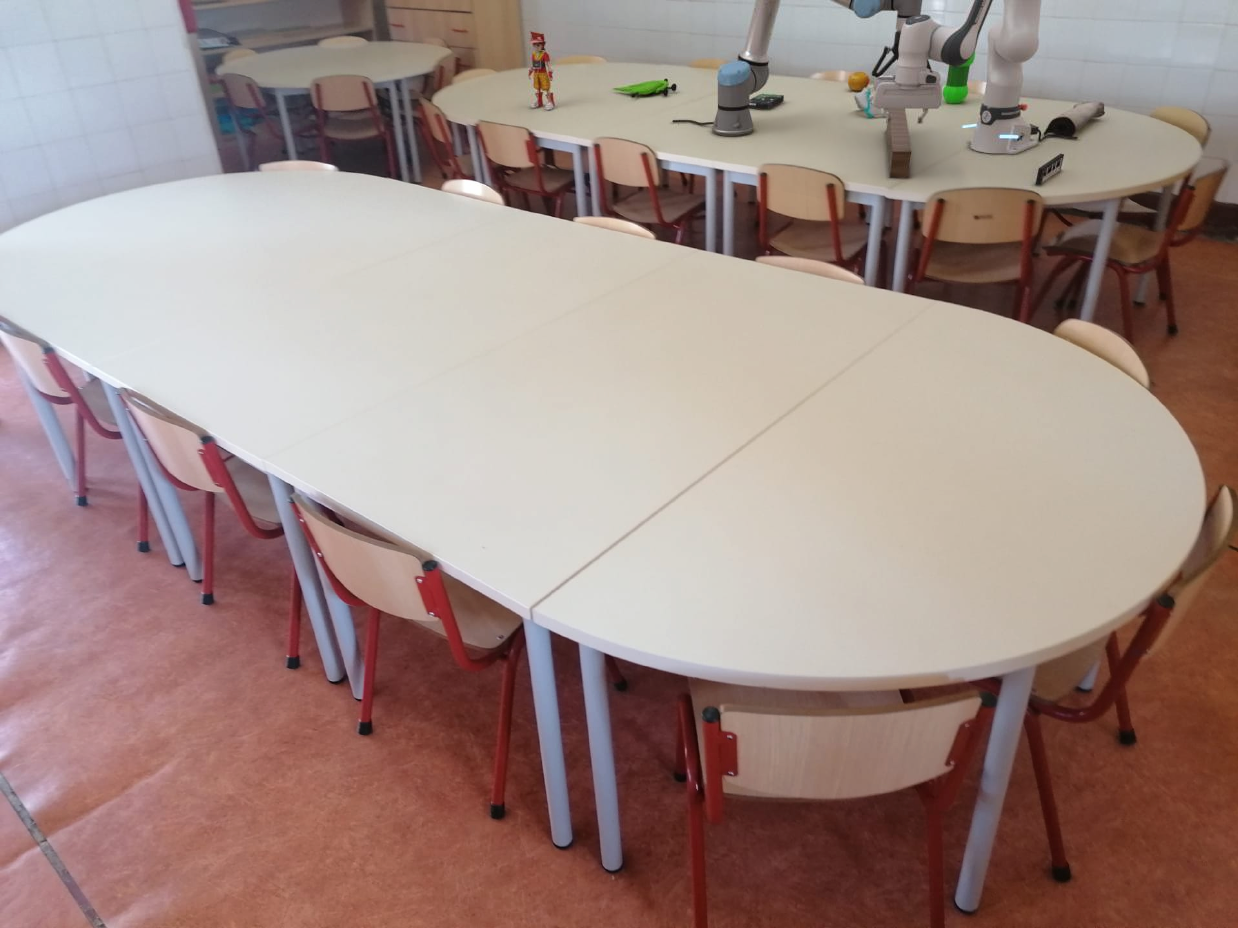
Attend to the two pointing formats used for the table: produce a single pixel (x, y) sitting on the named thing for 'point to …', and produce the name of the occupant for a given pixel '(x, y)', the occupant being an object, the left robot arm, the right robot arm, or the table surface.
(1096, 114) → the rolled mat
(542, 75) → the toy
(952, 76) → the plastic bottle
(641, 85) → the toy
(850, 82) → the fruit
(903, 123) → the post
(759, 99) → the disk drive
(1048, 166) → the midi keyboard
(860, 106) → the anatomical model
